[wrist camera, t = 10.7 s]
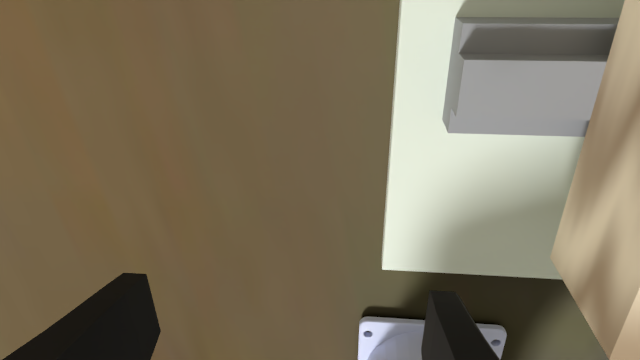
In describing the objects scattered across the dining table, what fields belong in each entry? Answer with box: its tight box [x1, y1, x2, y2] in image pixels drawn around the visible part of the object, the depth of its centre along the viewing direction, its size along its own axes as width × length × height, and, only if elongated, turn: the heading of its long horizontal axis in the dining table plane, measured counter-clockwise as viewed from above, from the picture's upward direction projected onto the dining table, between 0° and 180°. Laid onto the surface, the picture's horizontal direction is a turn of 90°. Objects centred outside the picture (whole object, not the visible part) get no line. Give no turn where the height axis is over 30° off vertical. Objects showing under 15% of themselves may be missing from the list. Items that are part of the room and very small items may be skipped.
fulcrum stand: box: [382, 0, 625, 279], centre depth 16 cm, size 20×16×4 cm
